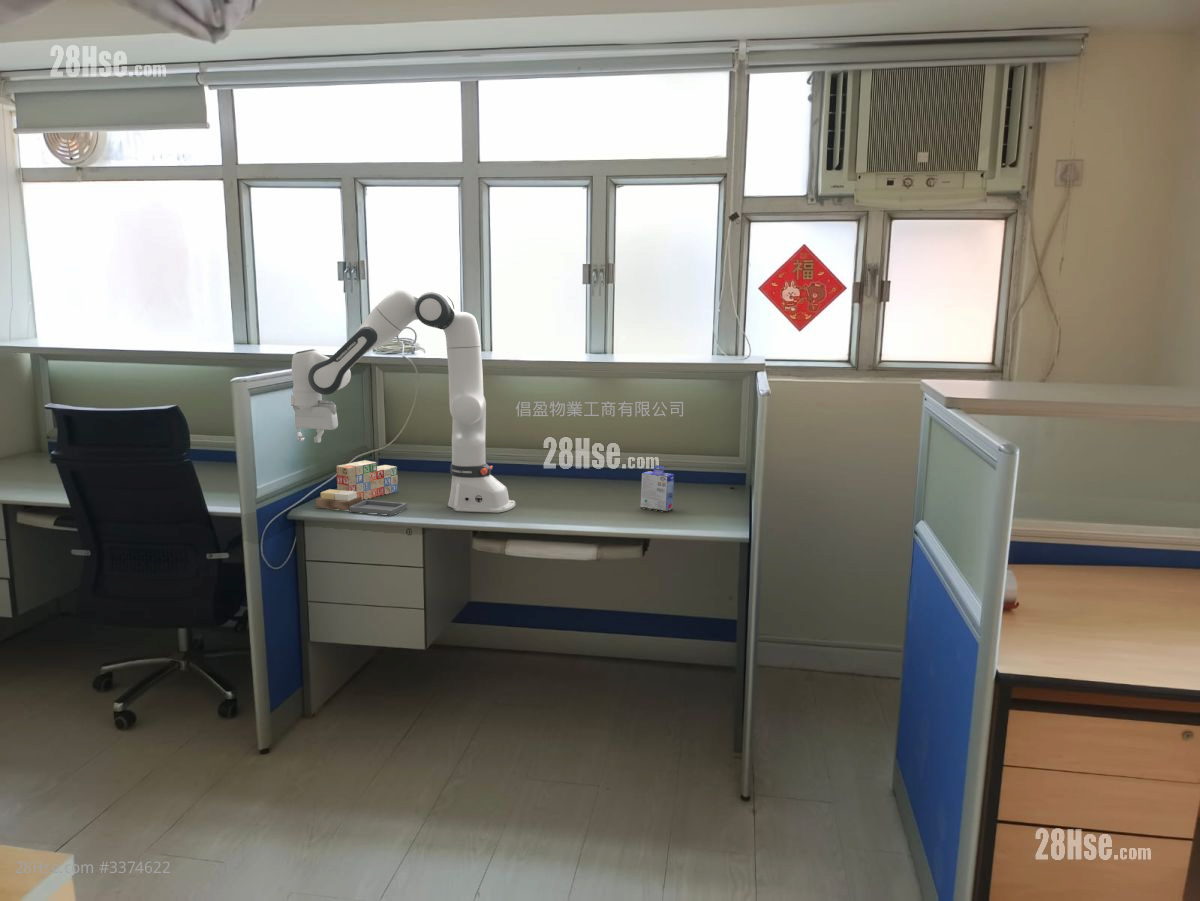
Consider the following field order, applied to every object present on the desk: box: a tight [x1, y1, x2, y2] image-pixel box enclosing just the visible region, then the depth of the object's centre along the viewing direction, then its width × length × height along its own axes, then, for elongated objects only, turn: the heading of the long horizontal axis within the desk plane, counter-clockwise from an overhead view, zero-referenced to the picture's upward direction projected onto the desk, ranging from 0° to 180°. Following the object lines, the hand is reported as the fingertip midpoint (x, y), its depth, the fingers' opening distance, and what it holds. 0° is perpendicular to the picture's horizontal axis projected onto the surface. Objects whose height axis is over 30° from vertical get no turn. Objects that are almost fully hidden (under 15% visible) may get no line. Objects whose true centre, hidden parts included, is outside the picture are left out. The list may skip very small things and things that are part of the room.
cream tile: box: [335, 490, 357, 501], centre depth 265 cm, size 5×5×2 cm
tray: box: [348, 499, 408, 516], centre depth 263 cm, size 15×10×2 cm, turn 75°
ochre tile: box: [320, 488, 343, 500], centre depth 267 cm, size 5×5×2 cm
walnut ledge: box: [315, 496, 363, 511], centre depth 267 cm, size 12×8×3 cm, turn 75°
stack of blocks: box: [336, 459, 399, 501], centre depth 282 cm, size 21×6×12 cm, turn 145°
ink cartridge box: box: [640, 464, 675, 510], centre depth 271 cm, size 10×6×14 cm, turn 59°
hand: (309, 441), depth 266 cm, fingers open, 5 cm apart
